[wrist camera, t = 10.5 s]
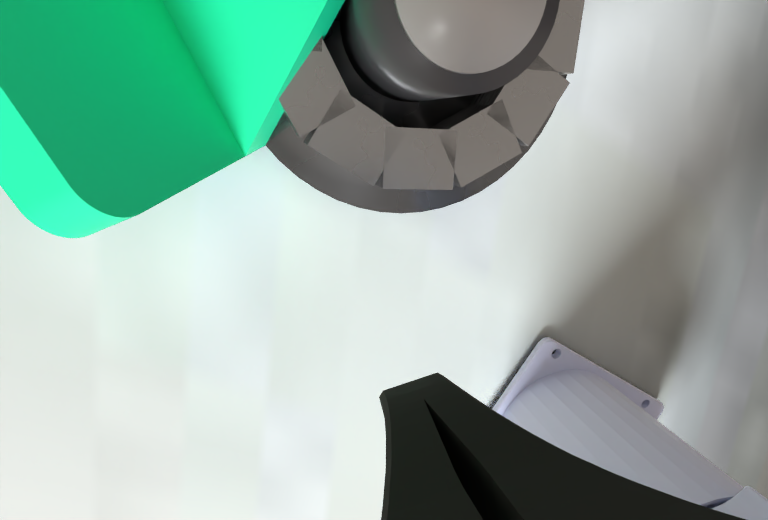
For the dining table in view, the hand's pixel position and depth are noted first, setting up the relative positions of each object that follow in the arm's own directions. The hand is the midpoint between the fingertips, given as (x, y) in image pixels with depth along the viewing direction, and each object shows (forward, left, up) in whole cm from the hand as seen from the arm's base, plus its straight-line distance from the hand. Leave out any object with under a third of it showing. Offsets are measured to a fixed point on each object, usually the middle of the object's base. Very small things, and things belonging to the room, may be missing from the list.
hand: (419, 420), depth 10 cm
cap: (+3, -9, -9) cm, 13 cm away
